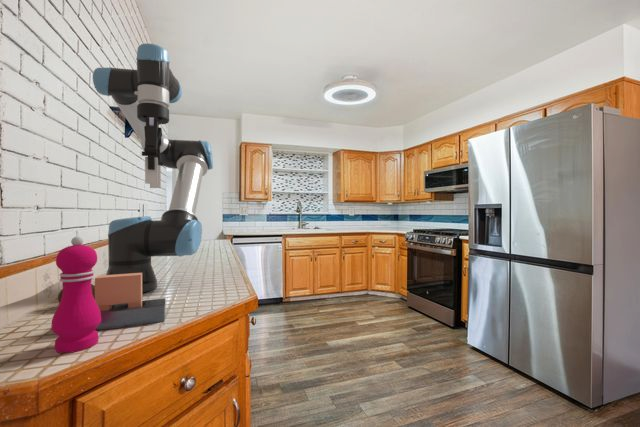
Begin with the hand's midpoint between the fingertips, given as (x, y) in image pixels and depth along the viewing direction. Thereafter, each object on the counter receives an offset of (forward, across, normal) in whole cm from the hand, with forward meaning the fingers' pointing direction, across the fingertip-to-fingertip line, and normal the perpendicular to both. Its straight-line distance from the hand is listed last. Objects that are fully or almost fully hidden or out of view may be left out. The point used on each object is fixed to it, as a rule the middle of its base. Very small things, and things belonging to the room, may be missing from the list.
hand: (153, 186), depth 82 cm
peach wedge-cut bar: (+31, +12, -6) cm, 34 cm away
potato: (+32, -7, -18) cm, 37 cm away
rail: (+32, +12, -6) cm, 34 cm away
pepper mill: (+32, +23, -11) cm, 41 cm away
